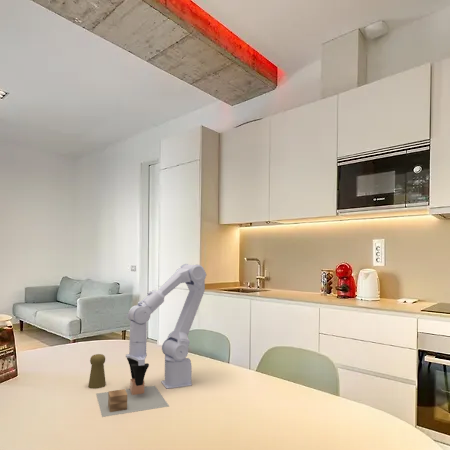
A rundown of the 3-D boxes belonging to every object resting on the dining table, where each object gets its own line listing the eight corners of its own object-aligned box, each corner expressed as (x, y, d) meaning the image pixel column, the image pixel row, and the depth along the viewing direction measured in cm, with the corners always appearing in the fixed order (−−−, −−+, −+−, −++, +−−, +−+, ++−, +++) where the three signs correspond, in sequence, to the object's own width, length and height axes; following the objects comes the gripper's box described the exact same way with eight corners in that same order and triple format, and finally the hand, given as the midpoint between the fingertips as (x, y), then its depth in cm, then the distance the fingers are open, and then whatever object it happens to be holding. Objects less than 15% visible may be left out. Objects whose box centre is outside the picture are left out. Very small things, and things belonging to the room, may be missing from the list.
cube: (141, 389, 133) (142, 377, 134) (144, 393, 130) (144, 381, 130) (130, 390, 132) (130, 379, 132) (132, 394, 128) (132, 382, 128)
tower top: (124, 396, 121) (124, 389, 121) (127, 402, 116) (127, 394, 117) (108, 398, 119) (108, 391, 119) (110, 404, 114) (110, 397, 115)
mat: (154, 386, 137) (154, 385, 137) (169, 406, 119) (169, 406, 119) (96, 394, 129) (96, 393, 129) (102, 417, 111) (102, 416, 111)
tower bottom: (124, 403, 121) (124, 396, 121) (127, 409, 116) (127, 402, 116) (108, 406, 119) (108, 398, 119) (110, 412, 114) (110, 404, 114)
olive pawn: (100, 389, 133) (101, 357, 134) (84, 388, 135) (85, 356, 135) (109, 383, 139) (109, 353, 140) (93, 382, 141) (94, 352, 141)
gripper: (123, 337, 137) (121, 376, 136) (129, 346, 124) (128, 390, 123) (142, 336, 140) (141, 374, 139) (151, 344, 127) (150, 387, 126)
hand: (137, 381), depth 131 cm, fingers open, 7 cm apart
